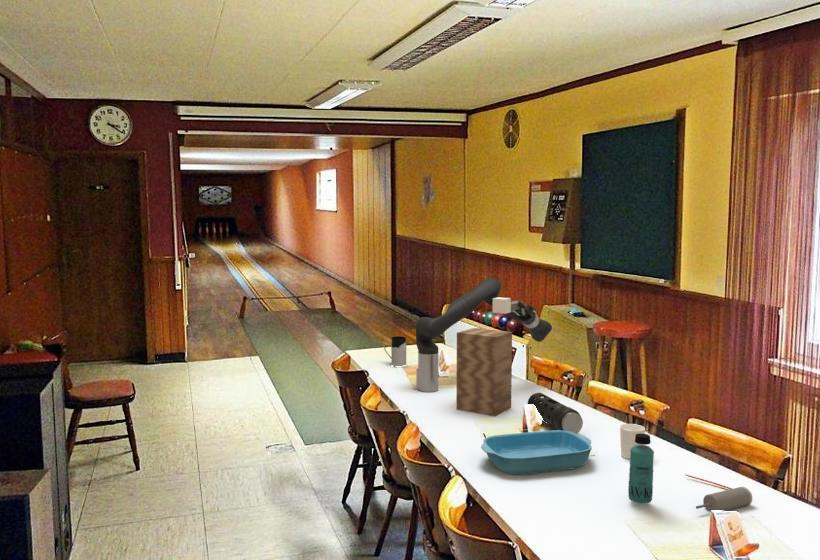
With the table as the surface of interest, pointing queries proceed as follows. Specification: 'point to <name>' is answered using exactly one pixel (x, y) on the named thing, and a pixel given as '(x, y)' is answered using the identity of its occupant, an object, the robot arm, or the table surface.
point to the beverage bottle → (641, 470)
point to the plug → (504, 305)
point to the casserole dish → (537, 451)
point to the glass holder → (397, 350)
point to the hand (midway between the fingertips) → (514, 302)
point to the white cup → (629, 438)
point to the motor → (725, 497)
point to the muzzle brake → (557, 413)
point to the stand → (484, 371)
